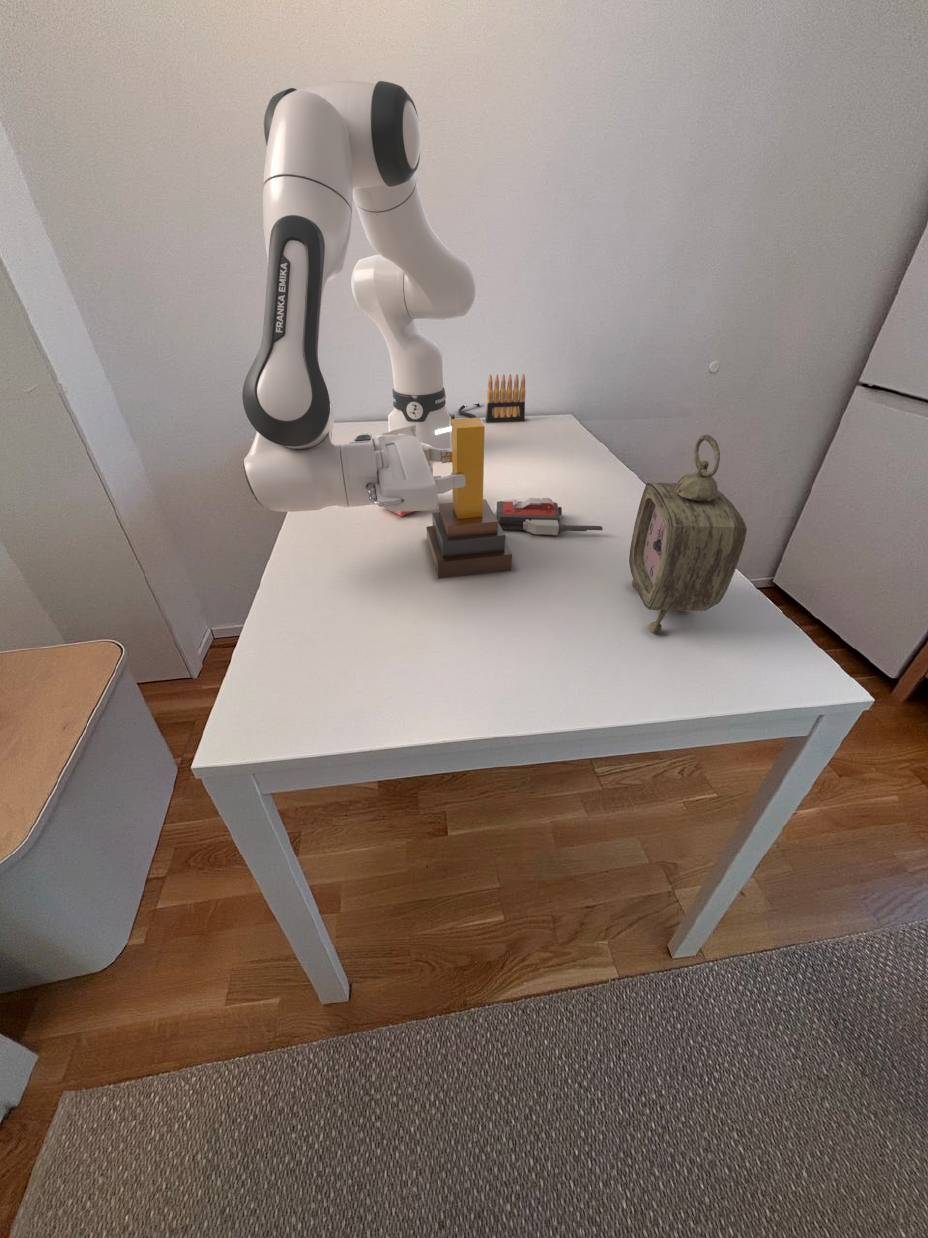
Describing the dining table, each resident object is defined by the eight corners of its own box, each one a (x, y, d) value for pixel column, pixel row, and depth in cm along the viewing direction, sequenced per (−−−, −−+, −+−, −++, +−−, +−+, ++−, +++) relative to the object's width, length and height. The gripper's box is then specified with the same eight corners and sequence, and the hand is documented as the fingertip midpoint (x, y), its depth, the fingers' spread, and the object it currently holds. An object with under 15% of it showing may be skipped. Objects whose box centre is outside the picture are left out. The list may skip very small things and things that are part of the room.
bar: (452, 507, 83) (451, 419, 75) (476, 505, 84) (478, 417, 75) (457, 519, 80) (456, 428, 72) (482, 516, 81) (484, 426, 72)
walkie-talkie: (489, 535, 92) (602, 538, 92) (490, 513, 90) (606, 515, 89) (490, 513, 99) (595, 515, 98) (490, 491, 97) (598, 493, 96)
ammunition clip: (486, 422, 142) (487, 375, 134) (485, 420, 143) (486, 373, 136) (524, 421, 143) (527, 374, 135) (523, 418, 144) (526, 372, 137)
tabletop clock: (621, 580, 81) (659, 417, 65) (679, 581, 81) (731, 418, 65) (644, 641, 70) (695, 461, 54) (711, 642, 69) (783, 462, 54)
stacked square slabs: (427, 541, 91) (424, 499, 86) (493, 534, 93) (494, 492, 88) (438, 578, 82) (436, 534, 77) (511, 570, 84) (514, 526, 79)
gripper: (366, 482, 65) (473, 473, 67) (359, 429, 81) (445, 423, 83) (372, 527, 69) (472, 517, 71) (364, 468, 85) (446, 461, 87)
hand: (458, 466), depth 77 cm, fingers open, 8 cm apart
